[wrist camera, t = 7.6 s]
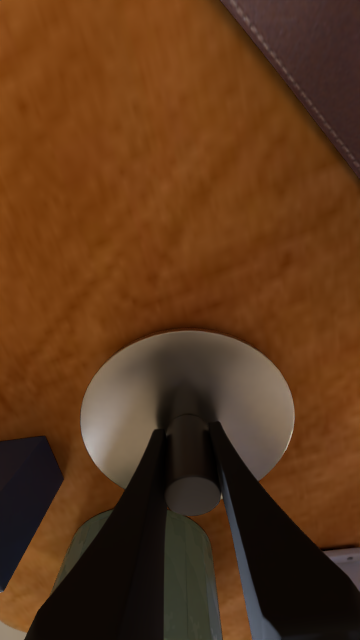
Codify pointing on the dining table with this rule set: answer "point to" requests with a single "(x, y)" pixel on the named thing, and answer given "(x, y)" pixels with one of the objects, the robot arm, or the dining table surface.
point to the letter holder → (313, 59)
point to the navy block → (23, 496)
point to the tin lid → (186, 411)
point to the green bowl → (171, 576)
